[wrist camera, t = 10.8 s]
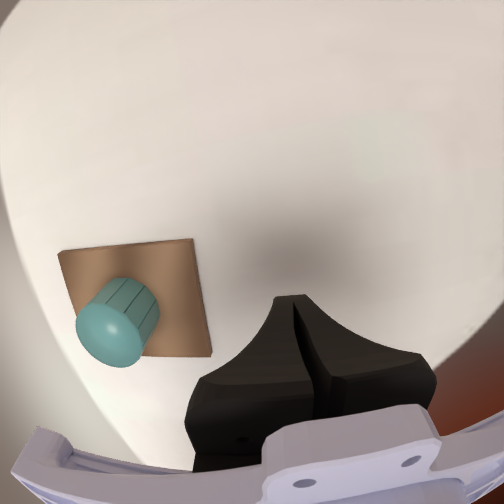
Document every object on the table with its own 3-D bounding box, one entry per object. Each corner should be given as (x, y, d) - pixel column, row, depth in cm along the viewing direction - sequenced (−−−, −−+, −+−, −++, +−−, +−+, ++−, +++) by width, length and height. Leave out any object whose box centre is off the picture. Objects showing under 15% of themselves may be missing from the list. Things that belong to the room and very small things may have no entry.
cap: (151, 276, 21) (129, 305, 17) (165, 334, 23) (149, 369, 19) (94, 278, 21) (66, 305, 17) (111, 333, 23) (90, 364, 19)
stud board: (192, 238, 21) (180, 256, 18) (211, 351, 24) (206, 379, 21) (62, 250, 22) (38, 266, 18) (94, 347, 25) (78, 370, 21)
